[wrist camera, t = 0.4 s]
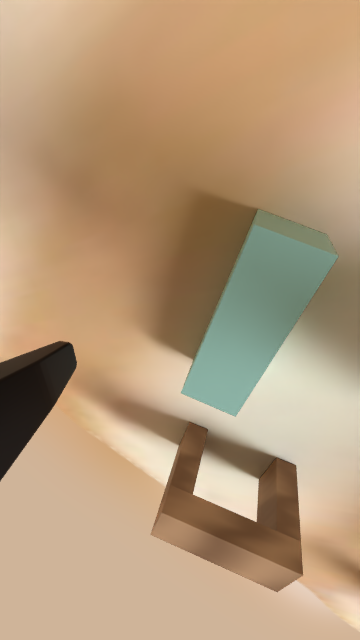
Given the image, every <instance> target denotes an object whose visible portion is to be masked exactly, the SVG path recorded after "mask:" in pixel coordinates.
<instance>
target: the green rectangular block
mask: <svg viewBox="0 0 360 640" xmlns="http://www.w3.org/2000/svg"><path fill="white" fill-rule="evenodd" d="M337 258H338V254H337V252H336V251H335V249H334V247H333V245H332V243H331V241H330V240H329V238H328V236H327V234H324V233H321V232H319V231H316V230H313V229H311V228H308V227H305V226H303V225H300V224H297V223H295V222H292V221H289V220H287V219H284V218H281V217H279V216H276V215H273V214H270V213H268V212H265V211H262V210H260V209H258V211H257V213H256V215H255V218H254V220H253V222H252V225H251V227H250V229H249V232H248V234H247V236H246V239H245V241H244V243H243V246H242V248H241V250H240V253H239V255H238V257H237V260H236V262H235V264H234V267H233V269H232V271H231V274H230V276H229V278H228V281H227V283H226V285H225V288H224V290H223V292H222V295H221V297H220V299H219V301H218V304H217V306H216V308H215V311H214V313H213V315H212V318H211V320H210V322H209V325H208V327H207V329H206V332H205V334H204V336H203V339H202V341H201V343H200V346H199V348H198V350H197V353H196V355H195V357H194V360H193V362H192V365H191V368H190V370H189V373H188V376H187V378H186V381H185V383H184V386H183V389H182V391H181V393H182V394H184V395H186V396H189V397H191V398H193V399H196V400H198V401H200V402H203V403H205V404H207V405H209V406H212V407H214V408H216V409H219V410H221V411H223V412H226V413H228V414H230V415H233V416H235V417H236V415H237V414H238V412H239V411H240V409H241V407H242V406H243V404H244V403H245V401H246V400H247V398H248V397H249V395H250V393H251V392H252V390H253V389H254V387H255V386H256V384H257V383H258V381H259V379H260V378H261V376H262V375H263V373H264V372H265V370H266V369H267V367H268V365H269V364H270V362H271V361H272V359H273V358H274V356H275V354H276V353H277V351H278V350H279V348H280V347H281V345H282V344H283V342H284V340H285V339H286V337H287V336H288V334H289V333H290V331H291V330H292V328H293V326H294V325H295V323H296V322H297V320H298V319H299V317H300V316H301V314H302V312H303V311H304V309H305V308H306V306H307V305H308V303H309V302H310V300H311V298H312V297H313V295H314V294H315V292H316V291H317V289H318V288H319V286H320V284H321V283H322V281H323V280H324V278H325V277H326V275H327V274H328V272H329V270H330V269H331V267H332V266H333V264H334V263H335V261H336V260H337Z"/></svg>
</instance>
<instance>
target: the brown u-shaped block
mask: <svg viewBox="0 0 360 640" xmlns="http://www.w3.org/2000/svg"><path fill="white" fill-rule="evenodd" d="M207 432H208V429H205V428H203V427H201V426H198V425H196V424H193V423H191V422H189V424H188V427H187V429H186V431H185V434H184V436H183V438H182V440H181V443H180V445H179V448H178V451H177V454H176V457H175V460H174V463H173V466H172V470H171V473H170V476H169V479H168V482H167V485H166V488H165V492H164V495H163V498H162V501H161V504H160V507H159V511H158V513H157V517H156V520H155V523H154V526H153V529H152V532H151V535H152V536H155V537H157V538H159V539H161V540H163V541H166V542H168V543H170V544H172V545H174V546H177V547H179V548H181V549H183V550H185V551H188V552H190V553H192V554H194V555H196V556H199V557H201V558H203V559H205V560H207V561H210V562H212V563H214V564H216V565H218V566H221V567H223V568H225V569H228V570H230V571H232V572H234V573H236V574H238V575H241V576H243V577H245V578H247V579H249V580H252V581H254V582H256V583H258V584H260V585H263V586H265V587H267V588H269V589H271V590H274V591H276V592H278V591H280V590H281V589H283V588H284V587H286V586H287V585H289V584H290V583H292V582H293V581H295V580H297V579H298V578H300V577H301V576H303V567H302V551H301V535H300V519H299V503H298V488H297V472H296V465H293V464H291V463H288V462H286V461H283V460H281V459H279V458H276V459H275V460H274V461H273V463H272V464H271V465H270V466H269V468H268V469H267V470H266V471H265V473H264V474H263V475H262V476H261V478H260V479H259V488H258V508H257V522H255V521H252V520H250V519H248V518H245V517H243V516H241V515H239V514H236V513H234V512H232V511H229V510H227V509H225V508H222V507H220V506H218V505H216V504H213V503H211V502H209V501H206V500H204V499H202V498H199V497H197V496H195V495H193V491H194V487H195V482H196V478H197V474H198V470H199V466H200V461H201V457H202V453H203V449H204V444H205V440H206V436H207Z"/></svg>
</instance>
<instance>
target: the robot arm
mask: <svg viewBox="0 0 360 640" xmlns="http://www.w3.org/2000/svg"><path fill="white" fill-rule="evenodd" d="M76 365H77V361H76V357H75V353H74V348H73V345H72V344H71V343H69V342H63V341H58V342H55V343H53V344H50V345H47V346H45V347H42V348H39V349H36V350H34V351H31V352H28V353H26V354H23V355H20V356H17V357H15V358H12V359H9V360H7V361H4V362H1V363H0V481H1V479H2V478H3V477H4V475H5V474H6V472H7V471H8V470H9V468H10V467H11V466H12V464H13V463H14V461H15V460H16V459H17V457H18V456H19V454H20V453H21V452H22V450H23V449H24V447H25V446H26V445H27V443H28V442H29V440H30V439H31V438H32V436H33V435H34V433H35V432H36V431H37V429H38V428H39V426H40V425H41V424H42V422H43V421H44V419H45V418H46V416H47V415H48V413H49V412H50V411H51V410H52V408H53V407H54V405H55V403H56V402H57V400H58V398H59V397H60V395H61V393H62V391H63V390H64V388H65V386H66V385H67V383H68V381H69V379H70V378H71V376H72V374H73V372H74V371H75V369H76Z"/></svg>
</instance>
